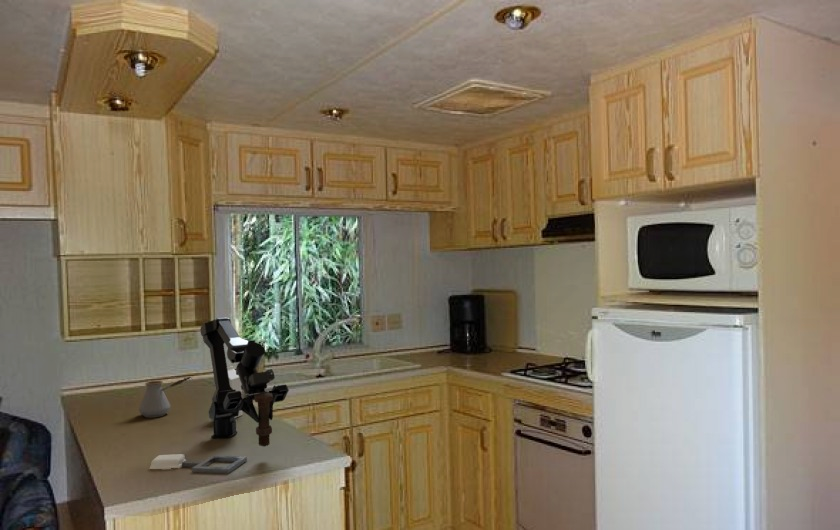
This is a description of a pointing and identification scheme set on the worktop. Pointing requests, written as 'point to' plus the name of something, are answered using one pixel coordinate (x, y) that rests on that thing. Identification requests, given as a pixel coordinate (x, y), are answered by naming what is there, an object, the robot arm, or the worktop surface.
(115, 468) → the worktop surface
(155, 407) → the coffee pot
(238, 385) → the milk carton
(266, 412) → the bolt
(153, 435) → the worktop surface
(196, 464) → the socket plate
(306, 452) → the worktop surface
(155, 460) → the soap
